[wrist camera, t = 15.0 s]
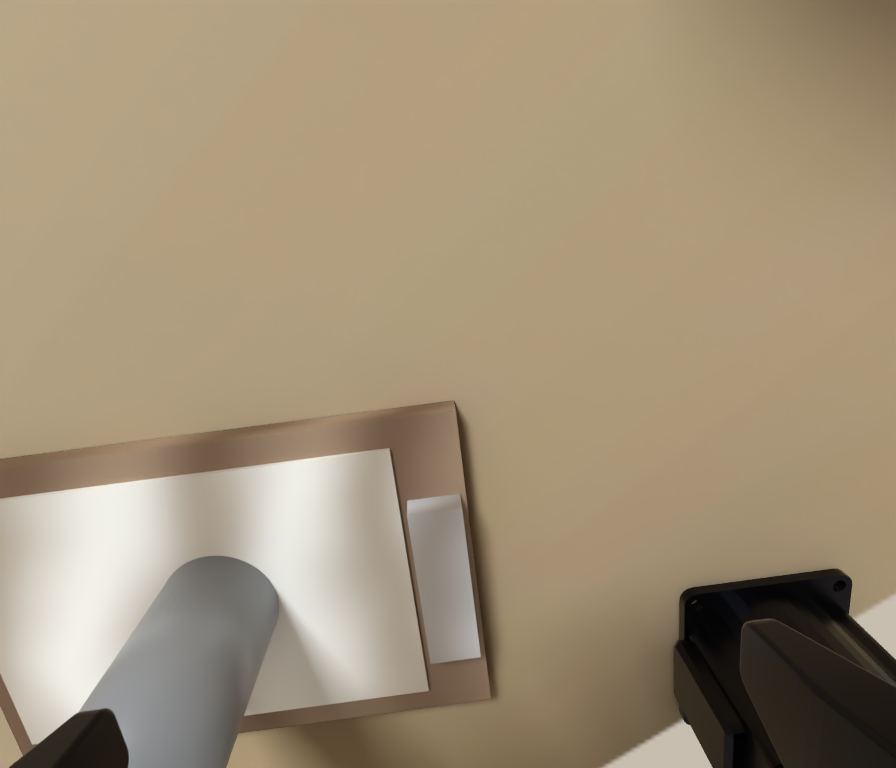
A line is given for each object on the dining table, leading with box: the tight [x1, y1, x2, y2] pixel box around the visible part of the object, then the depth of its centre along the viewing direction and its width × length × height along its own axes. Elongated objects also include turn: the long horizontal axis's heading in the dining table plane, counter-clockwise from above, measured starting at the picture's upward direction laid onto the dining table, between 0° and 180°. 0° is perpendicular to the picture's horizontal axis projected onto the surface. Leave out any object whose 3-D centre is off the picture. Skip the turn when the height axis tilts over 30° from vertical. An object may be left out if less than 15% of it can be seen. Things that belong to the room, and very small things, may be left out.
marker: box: [79, 556, 279, 768], centre depth 15 cm, size 4×4×10 cm
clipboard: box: [0, 401, 491, 756], centre depth 20 cm, size 18×12×2 cm, turn 97°
